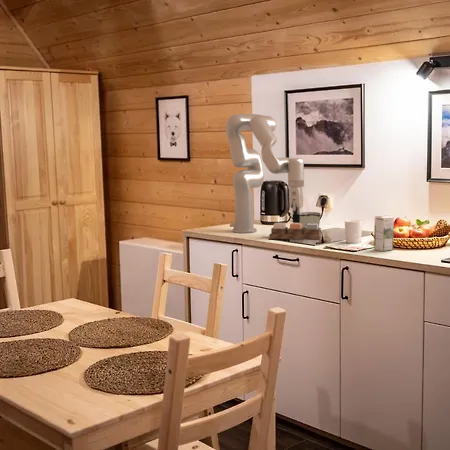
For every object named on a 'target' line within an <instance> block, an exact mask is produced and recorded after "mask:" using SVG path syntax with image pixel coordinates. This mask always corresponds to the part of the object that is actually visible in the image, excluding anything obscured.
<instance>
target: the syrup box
mask: <svg viewBox="0 0 450 450" xmlns="http://www.w3.org/2000/svg"><path fill="white" fill-rule="evenodd" d="M394 224H395V218H394V216H391V215H378V216H374V237H373V238H374V239H373V243H374V244H373V250H374V251H378V252H379V251H380V252H387V251H389V252H390V251H393V250H394Z"/></svg>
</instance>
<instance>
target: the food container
mask: <svg viewBox="0 0 450 450" xmlns="http://www.w3.org/2000/svg"><path fill="white" fill-rule="evenodd" d="M321 218H322V213H321V212H318V211H317V212H316V211H302V212H300V222H299V223H302V227H304V229H305V228H307V224H308V223H311V224H319V225H320V222H321V221H320V220H321Z"/></svg>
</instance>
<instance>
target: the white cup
mask: <svg viewBox="0 0 450 450" xmlns="http://www.w3.org/2000/svg"><path fill="white" fill-rule="evenodd" d="M344 230H345V233H344V234H345V243H347V244H361V243H362V234H363V220H362V219H345V220H344Z"/></svg>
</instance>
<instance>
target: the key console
mask: <svg viewBox="0 0 450 450" xmlns="http://www.w3.org/2000/svg"><path fill="white" fill-rule="evenodd" d="M268 237H269V239H270V240H274V239H275V240H304V239H306V240H307V241H308V240H309V241H310V240H311V241H312V240H315V241H319V240H321V239H322V238H323V232H322V229H321V227H319V229H307V228H305V229H304V227H302V229H290V227H287V226H286V228H285V229H274V226H273V227H272V228H271V232H270V234H269V236H268Z"/></svg>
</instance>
